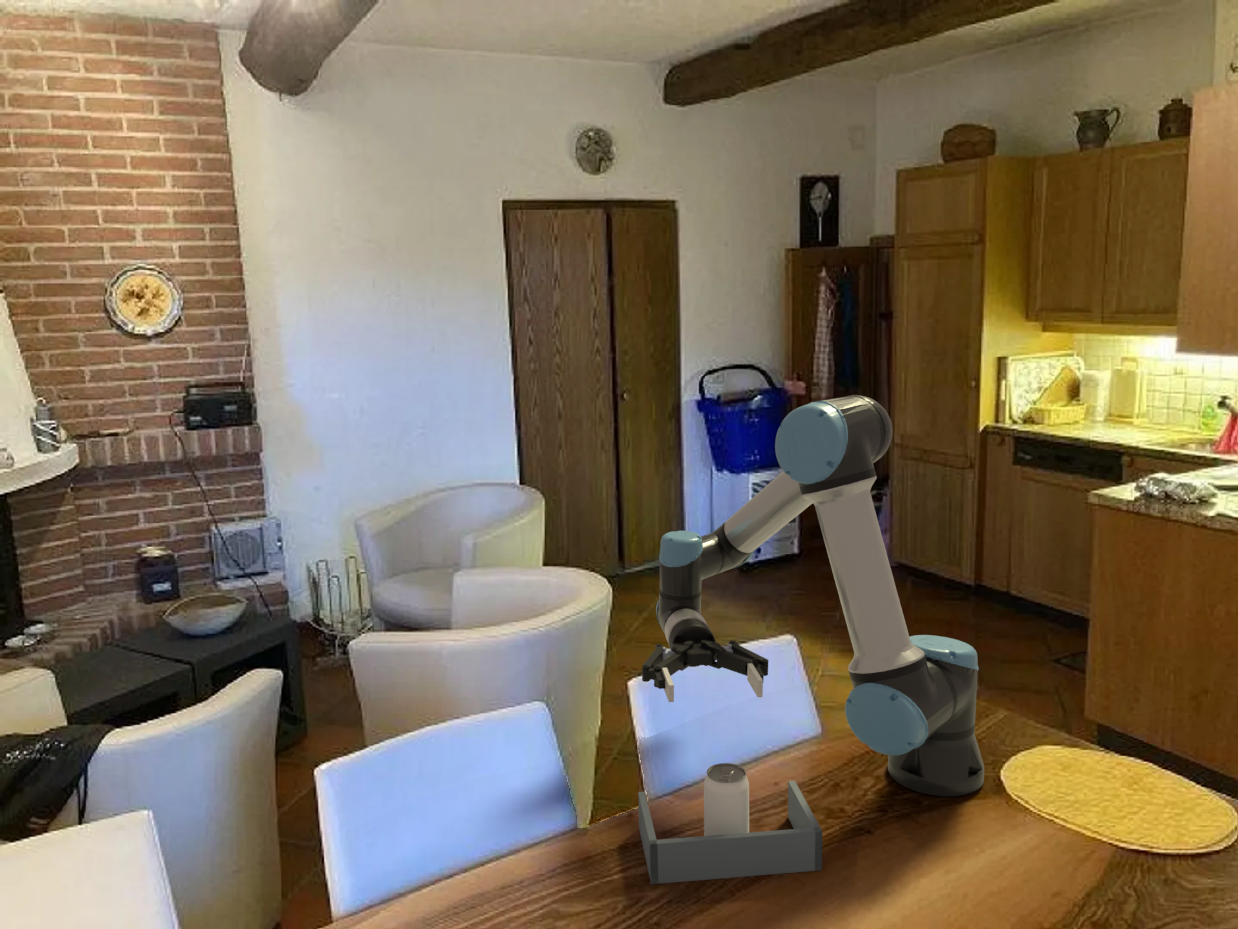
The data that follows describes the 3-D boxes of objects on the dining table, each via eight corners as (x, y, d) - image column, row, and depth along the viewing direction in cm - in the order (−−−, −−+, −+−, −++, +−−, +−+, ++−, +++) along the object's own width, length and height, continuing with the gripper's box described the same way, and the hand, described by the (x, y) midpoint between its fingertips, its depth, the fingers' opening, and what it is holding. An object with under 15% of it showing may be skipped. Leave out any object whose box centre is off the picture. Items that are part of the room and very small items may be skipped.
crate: (639, 828, 148) (638, 792, 147) (794, 816, 151) (794, 780, 149) (651, 884, 135) (650, 844, 134) (821, 870, 137) (822, 831, 136)
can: (753, 840, 145) (753, 765, 142) (744, 865, 139) (743, 786, 136) (710, 833, 147) (709, 759, 144) (699, 857, 141) (698, 780, 138)
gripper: (760, 655, 170) (795, 710, 150) (617, 662, 168) (633, 719, 147) (761, 614, 169) (797, 663, 148) (617, 620, 166) (633, 672, 145)
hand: (716, 691), depth 148 cm, fingers open, 13 cm apart
